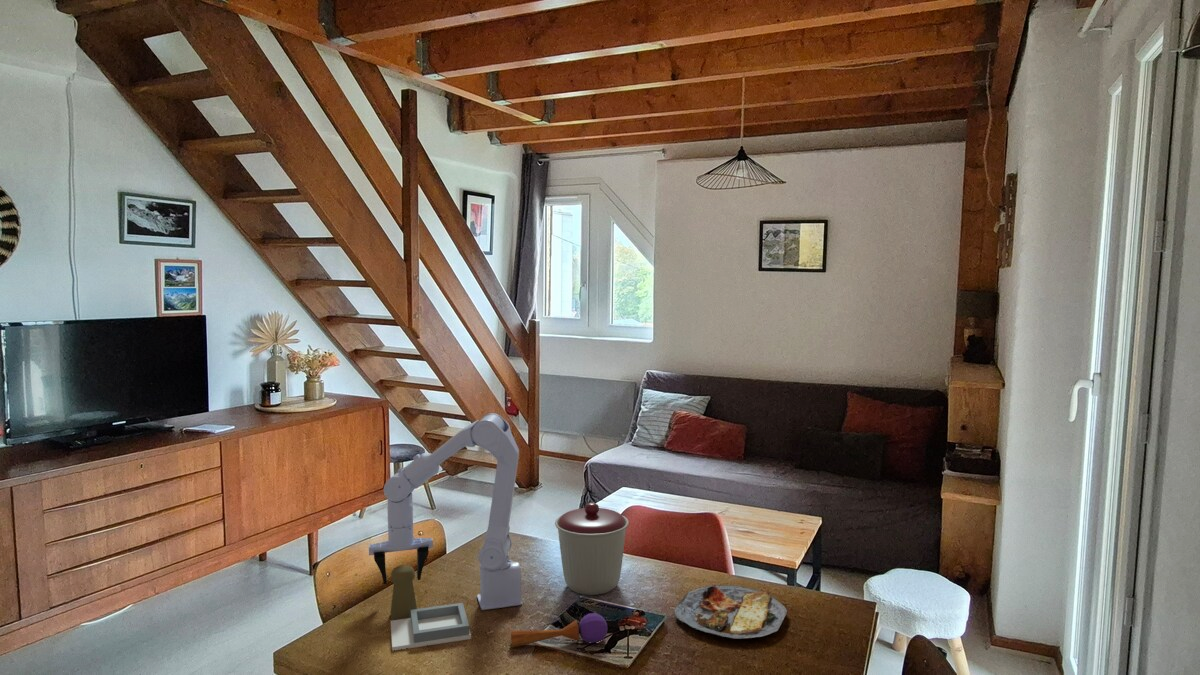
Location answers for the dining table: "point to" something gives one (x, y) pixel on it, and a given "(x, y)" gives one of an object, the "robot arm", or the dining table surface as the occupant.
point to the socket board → (430, 627)
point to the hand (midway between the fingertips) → (402, 580)
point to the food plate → (717, 604)
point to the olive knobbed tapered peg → (402, 592)
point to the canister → (591, 548)
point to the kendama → (565, 631)
